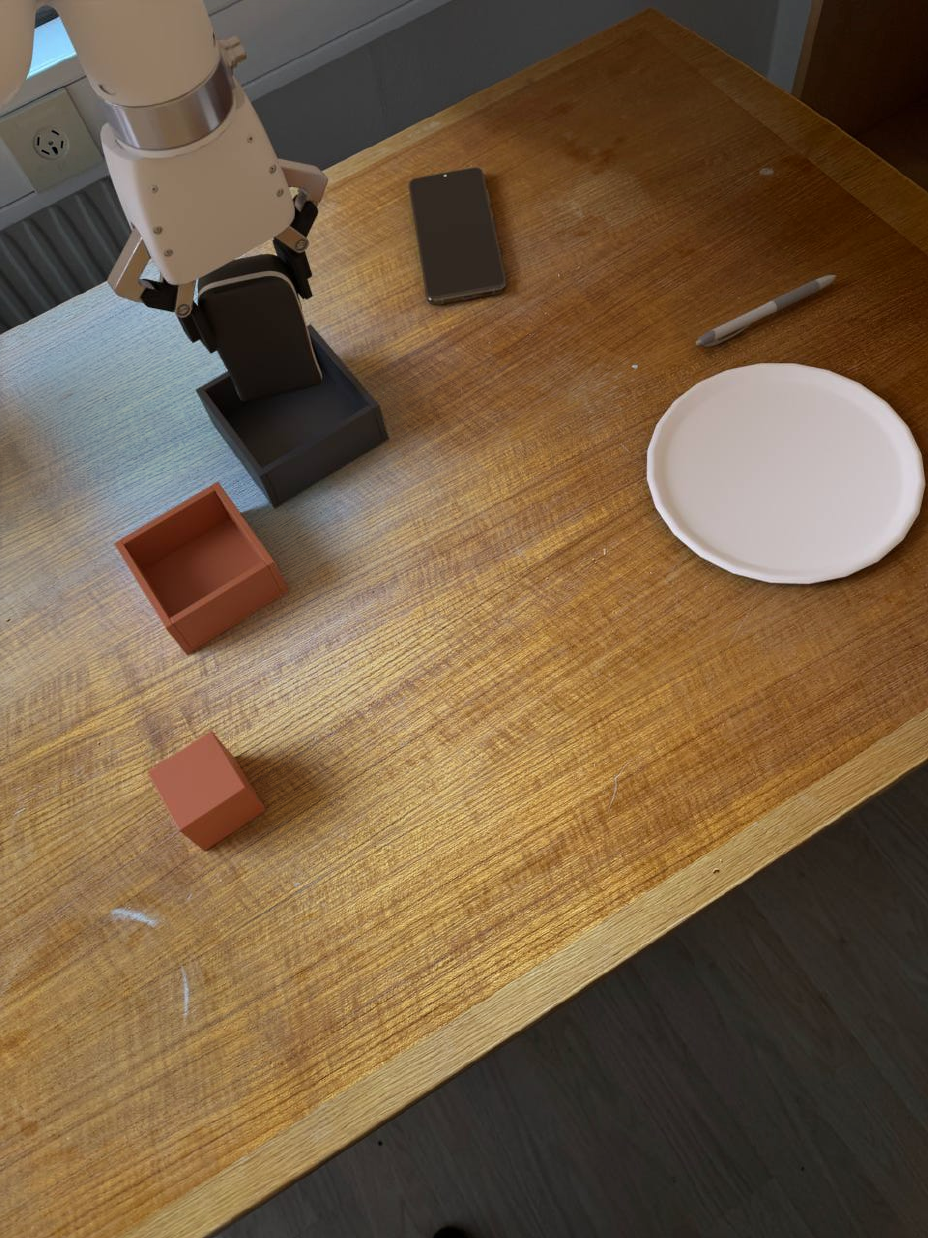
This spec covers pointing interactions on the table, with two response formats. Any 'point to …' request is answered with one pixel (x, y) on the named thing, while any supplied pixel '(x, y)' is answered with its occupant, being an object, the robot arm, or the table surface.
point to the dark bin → (297, 426)
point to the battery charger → (259, 327)
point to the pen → (763, 311)
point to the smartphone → (456, 236)
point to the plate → (785, 473)
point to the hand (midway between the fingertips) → (252, 312)
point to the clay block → (206, 791)
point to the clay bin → (202, 567)
